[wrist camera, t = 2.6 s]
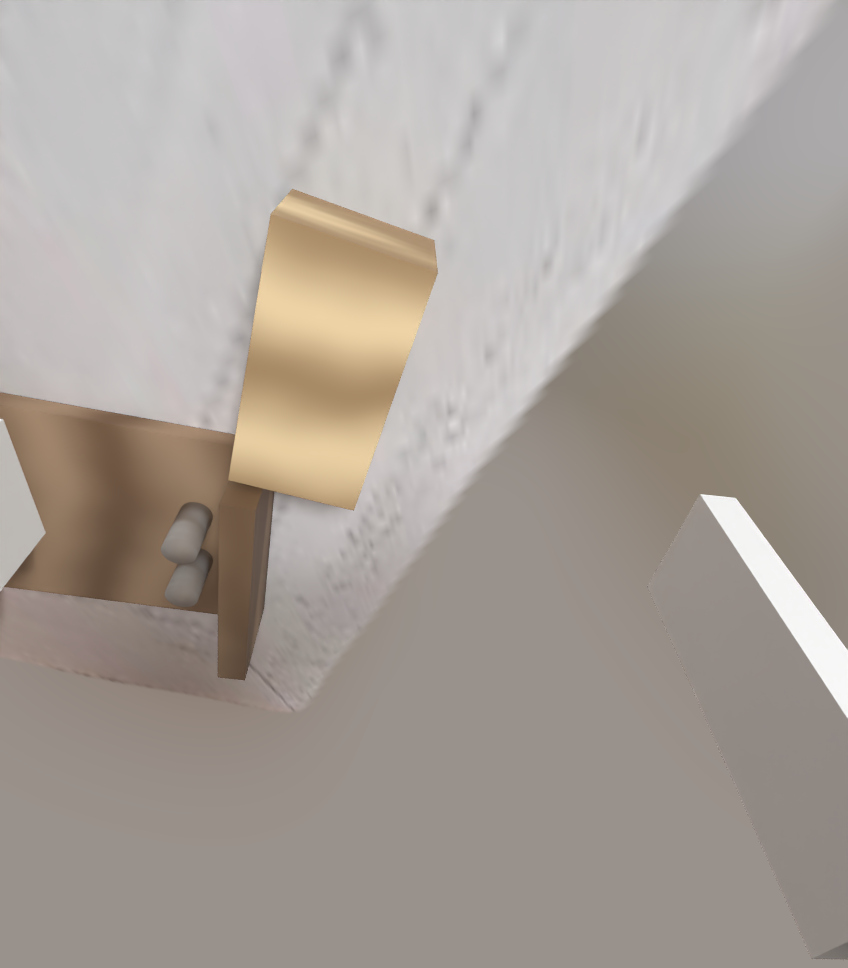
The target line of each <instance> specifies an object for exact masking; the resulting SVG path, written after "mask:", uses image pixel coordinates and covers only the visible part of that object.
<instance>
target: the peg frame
mask: <svg viewBox="0 0 848 968" xmlns="http://www.w3.org/2000/svg"><path fill="white" fill-rule="evenodd" d="M0 419H3V420H4V423H5V425H6V428H7V431H8V433H9V436H10V439H11V441H12V444H13V447H14V449H15V452H16V455H17V457H18V460H19V463H20V465H21V468H22V471H23V473H24V476H25V479H26V482H27V484H28V487H29V490H30V492H31V495H32V498H33V500H34V503H35V506H36V508H37V511H38V514H39V516H40V519H41V522H42V524H43V527H44V530H45V532H46V533H45V534H44V536H43V537H42V538H41V540H40V541H39V542H38V543H37V545H36V546H35V547H34V549H33V550H32V551H31V552H30V554H29V555H28V556H27V558H26V559H25V560H24V561H23V563H22V564H21V565H20V567H19V568H18V569H17V571H16V572H15V573H14V574H13V576H12V577H11V578H10V580H9V581H8V582H7V583H6V585H5V586H4V587H10V588H18V589H26V590H34V591H41V592H49V593H57V594H64V595H72V596H80V597H88V598H95V599H103V600H111V601H118V602H126V603H134V604H142V605H149V606H157V607H165V608H173V609H180V610H188V611H196V612H203V613H211V614H218V677H220V678H229V679H238V680H245V678H246V674H247V670H248V666H249V663H250V659H251V655H252V651H253V648H254V644H255V640H256V636H257V632H258V629H259V625H260V621H261V617H262V614H263V610H264V602H265V591H266V579H267V568H268V557H269V545H270V534H271V522H272V511H273V500H274V491H271V490H267V489H263V488H259V487H255V486H250V485H246V484H242V483H238V482H234V481H230V480H228V478H229V472H230V465H231V459H232V453H233V447H234V440H235V435H234V434H229V433H223V432H217V431H212V430H206V429H201V428H195V427H190V426H184V425H178V424H173V423H167V422H162V421H156V420H151V419H145V418H139V417H134V416H128V415H123V414H117V413H112V412H106V411H100V410H95V409H89V408H84V407H78V406H73V405H67V404H61V403H56V402H50V401H45V400H39V399H34V398H28V397H22V396H17V395H11V394H6V393H0Z"/></svg>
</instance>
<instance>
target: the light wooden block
mask: <svg viewBox="0 0 848 968" xmlns="http://www.w3.org/2000/svg"><path fill="white" fill-rule="evenodd" d="M437 273H438V270H437V261H436V252H435V243H434V240H432V239H429V238H426V237H423V236H421V235H418V234H415V233H412V232H410V231H407V230H404V229H401V228H399V227H396V226H393V225H390V224H388V223H385V222H382V221H379V220H377V219H374V218H371V217H368V216H366V215H363V214H360V213H357V212H355V211H352V210H349V209H346V208H344V207H341V206H338V205H335V204H333V203H330V202H327V201H324V200H322V199H319V198H316V197H313V196H311V195H308V194H305V193H302V192H300V191H297V190H294V189H292V190H291V191H290V192H289V193H288V195H287V196H286V197H285V198H284V199H283V200H282V202H281V203H280V204H279V205H278V206H277V207H276V209H275V210H274V211H273V212H272V213H271V216H270V222H269V228H268V235H267V241H266V247H265V253H264V259H263V266H262V272H261V278H260V284H259V291H258V297H257V303H256V309H255V316H254V322H253V328H252V334H251V341H250V347H249V353H248V359H247V366H246V372H245V378H244V384H243V390H242V397H241V403H240V409H239V415H238V422H237V428H236V434H235V440H234V447H233V453H232V459H231V465H230V472H229V478H228V480H230V481H234V482H238V483H242V484H246V485H250V486H255V487H259V488H263V489H267V490H271V491H275V492H279V493H283V494H287V495H292V496H296V497H300V498H304V499H308V500H312V501H316V502H320V503H324V504H328V505H333V506H337V507H341V508H345V509H349V510H353V511H354V508H355V506H356V503H357V500H358V497H359V494H360V491H361V489H362V486H363V483H364V480H365V477H366V474H367V472H368V469H369V466H370V463H371V460H372V458H373V455H374V452H375V449H376V446H377V443H378V441H379V438H380V435H381V432H382V429H383V426H384V424H385V421H386V418H387V415H388V412H389V409H390V407H391V404H392V401H393V398H394V395H395V392H396V390H397V387H398V384H399V381H400V378H401V375H402V373H403V370H404V367H405V364H406V361H407V358H408V356H409V353H410V350H411V347H412V344H413V341H414V339H415V336H416V333H417V330H418V327H419V324H420V322H421V319H422V316H423V313H424V310H425V307H426V305H427V302H428V299H429V296H430V293H431V290H432V288H433V285H434V282H435V279H436V276H437Z"/></svg>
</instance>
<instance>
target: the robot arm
mask: <svg viewBox="0 0 848 968" xmlns="http://www.w3.org/2000/svg"><path fill="white" fill-rule="evenodd" d="M45 533H46V532H45V530H44V527H43V524H42V522H41V519H40V516H39V514H38V511H37V508H36V506H35V503H34V500H33V498H32V495H31V492H30V490H29V487H28V484H27V482H26V479H25V476H24V473H23V471H22V468H21V465H20V463H19V460H18V457H17V455H16V452H15V449H14V447H13V444H12V441H11V439H10V436H9V433H8V431H7V428H6V425H5V423H4V420H3V419H0V591H1V590H2V589H3V587H4V586H5V585H6V583H7V582H8V581H9V580H10V578H11V577H12V576H13V574H14V573H15V572H16V571H17V569H18V568H19V567H20V565H21V564H22V563H23V561H24V560H25V559H26V558H27V556H28V555H29V554H30V552H31V551H32V550H33V549H34V547H35V546H36V545H37V543H38V542H39V541H40V540H41V538H42V537H43V536H44V534H45ZM647 588H648V590H649V592H650V594H651V597H652V599H653V601H654V604H655V606H656V608H657V610H658V612H659V615H660V617H661V619H662V622H663V624H664V626H665V628H666V631H667V633H668V635H669V638H670V640H671V642H672V644H673V646H674V649H675V651H676V653H677V656H678V658H679V660H680V662H681V665H682V667H683V669H684V671H685V673H686V676H687V678H688V680H689V683H690V685H691V687H692V689H693V692H694V694H695V696H696V699H697V701H698V703H699V705H700V708H701V710H702V712H703V714H704V716H705V719H706V721H707V723H708V726H709V728H710V730H711V733H712V735H713V737H714V739H715V742H716V743H717V746H718V748H719V751H720V753H721V755H722V757H723V760H724V762H725V764H726V766H727V768H728V771H729V773H730V775H731V778H732V780H733V782H734V784H735V787H736V789H737V791H738V794H739V796H740V798H741V800H742V803H743V805H744V807H745V809H746V812H747V813H748V816H749V818H750V821H751V823H752V825H753V827H754V830H755V832H756V834H757V836H758V839H759V841H760V843H761V845H762V848H763V850H764V852H765V855H766V857H767V859H768V861H769V864H770V866H771V868H772V870H773V873H774V875H775V877H776V879H777V881H778V884H779V886H780V889H781V891H782V893H783V895H784V898H785V900H786V902H787V904H788V907H789V909H790V911H791V913H792V916H793V918H794V920H795V922H796V925H797V927H798V929H799V931H800V934H801V936H802V938H803V941H804V943H805V945H806V947H807V949H808V952H809V954H810V956H811V958H812V959H848V650H847V649H846V648H845V646H844V645H843V644H842V642H841V641H840V640H839V638H838V637H837V635H836V634H835V633H834V631H833V630H832V629H831V627H830V626H829V624H828V623H827V622H826V621H825V619H824V618H823V616H822V615H821V614H820V612H819V611H818V609H817V608H816V607H815V605H814V604H813V603H812V601H811V600H810V599H809V597H808V596H807V595H806V593H805V592H804V590H803V589H802V588H801V586H800V585H799V584H798V582H797V581H796V580H795V578H794V577H793V576H792V574H791V573H790V571H789V570H788V569H787V567H786V566H785V565H784V563H783V562H782V561H781V559H780V558H779V556H778V555H777V554H776V552H775V551H774V550H773V548H772V547H771V546H770V544H769V543H768V541H767V540H766V539H765V537H764V536H763V535H762V533H761V532H760V531H759V529H758V528H757V526H756V525H755V524H754V522H753V521H752V520H751V518H750V517H749V516H748V514H747V513H746V511H745V510H744V509H743V507H742V506H741V505H740V503H739V502H738V500H737V499H736V498H730V497H721V496H712V495H703V494H700V495H699V497H698V499H697V500H696V502H695V504H694V506H693V507H692V509H691V511H690V513H689V514H688V516H687V518H686V520H685V521H684V523H683V525H682V527H681V528H680V530H679V532H678V533H677V535H676V537H675V539H674V540H673V542H672V544H671V546H670V547H669V549H668V551H667V553H666V554H665V556H664V558H663V560H662V561H661V563H660V565H659V567H658V568H657V570H656V572H655V574H654V576H653V577H652V579H651V581H650V582H649V584H648V586H647Z"/></svg>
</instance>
